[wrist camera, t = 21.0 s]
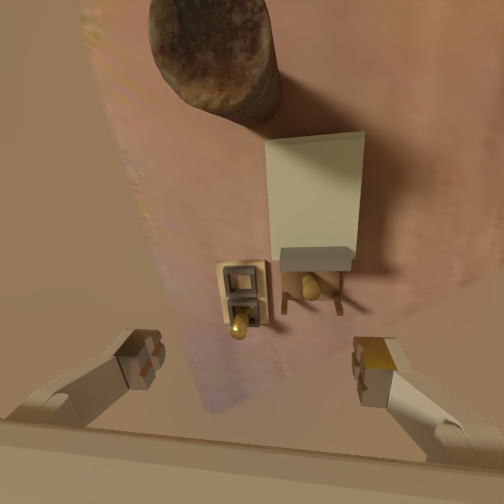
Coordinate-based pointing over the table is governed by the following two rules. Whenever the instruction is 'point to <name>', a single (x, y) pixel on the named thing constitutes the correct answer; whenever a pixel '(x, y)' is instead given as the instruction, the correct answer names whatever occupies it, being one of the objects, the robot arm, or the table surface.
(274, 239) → the lid
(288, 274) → the base
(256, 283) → the tan socket tray
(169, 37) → the brown wooden log
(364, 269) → the table surface
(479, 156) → the table surface
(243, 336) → the pin
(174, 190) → the table surface
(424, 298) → the table surface
